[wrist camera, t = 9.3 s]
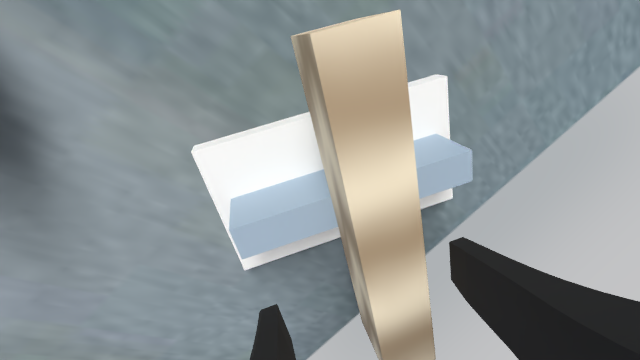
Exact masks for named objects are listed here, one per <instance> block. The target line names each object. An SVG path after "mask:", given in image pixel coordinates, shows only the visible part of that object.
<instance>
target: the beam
mask: <svg viewBox="0 0 640 360" xmlns="http://www.w3.org/2000/svg"><path fill="white" fill-rule="evenodd" d="M291 40H292V44H293V48H294V52H295V56H296V60H297V64H298V68H299V72H300V76H301V80H302V84H303V88H304V92H305V96H306V100H307V104H308V108H309V112H310V116H311V120H312V124H313V128H314V132H315V136H316V140H317V144H318V148H319V152H320V156H321V160H322V164H323V168H324V172H325V176H326V180H327V184H328V188H329V192H330V196H331V200H332V204H333V208H334V212H335V216H336V220H337V224H338V227H339V231H340V235H341V239H342V243H343V247H344V251H345V255H346V259H347V263H348V267H349V271H350V275H351V279H352V283H353V287H354V291H355V295H356V299H357V303H358V307H359V311H360V315H361V319H362V323H363V325H364V327H365V329H366V332H367V334H368V336H369V339H370V341H371V343H372V345H373V347H374V350H375V352H376V354H377V357H378V358H379V360H435V359H436V358H435V347H434V338H433V328H432V318H431V308H430V298H429V288H428V278H427V268H426V259H425V249H424V239H423V229H422V219H421V209H420V199H419V190H418V180H417V170H416V160H415V150H414V140H413V130H412V121H411V111H410V101H409V91H408V81H407V71H406V61H405V52H404V42H403V32H402V22H401V12H400V10H396V11H392V12H387V13H382V14H377V15H372V16H367V17H363V18H358V19H354V20H350V21H346V22H343V23H339V24H335V25H331V26H327V27H324V28H320V29H316V30H312V31H308V32H305V33H301V34H297V35H293V36H291Z"/></svg>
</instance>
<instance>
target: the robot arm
mask: <svg viewBox="0 0 640 360" xmlns="http://www.w3.org/2000/svg"><path fill="white" fill-rule="evenodd" d="M449 245H450V266H451V280H452V281H453V283H454V284H455V286H456V287H457V288H458V290H459V291H460V293H461V294H462V295H463V297H464V298H465V300H466V301H467V302H468V303H469V304H470V306H471V307H472V308H473V309H474V310H475V311H476V312H477V313H478V315H479V316H480V317H481V318H482V319H483V320H484V321H485V322H486V323H487V324H488V326H489V327H490V328H491V329H492V330H493V331H494V332H495V333H496V334H497V335H498V336H499V338H500V339H501V340H502V341H503V342H504V343H505V344H506V345H507V346H508V348H509V349H510V350H511V351H512V352H513V353H514V354H515V356H516V357H517V358H518V359H519V360H640V302H638V301H634V300H630V299H626V298H623V297H619V296H615V295H611V294H608V293H604V292H601V291H597V290H594V289H590V288H587V287H584V286H581V285H578V284H575V283H572V282H569V281H566V280H563V279H560V278H557V277H555V276H552V275H549V274H547V273H544V272H541V271H539V270H536V269H534V268H531V267H529V266H527V265H524V264H522V263H519V262H517V261H515V260H512V259H510V258H508V257H506V256H503V255H501V254H499V253H497V252H495V251H492V250H490V249H488V248H486V247H484V246H482V245H479V244H477V243H475V242H473V241H471V240H468V239H466V238H464V237H462V238H459V239H457V240H454V241H451V242H450V243H449ZM250 360H296V358H295V353H294V349H293V344H292V340H291V337H290V335H289V332H288V330H287V327H286V325H285V322H284V320H283V318H282V315H281V313H280V310H279V308H278V305H277V304H276V305H273V306H270V307H268V308H265V309H262V310H261V311H260V313H259V320H258V326H257V331H256V336H255V340H254V345H253V349H252V353H251V357H250Z"/></svg>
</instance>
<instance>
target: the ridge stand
mask: <svg viewBox="0 0 640 360" xmlns="http://www.w3.org/2000/svg"><path fill="white" fill-rule="evenodd" d="M408 91H409V101H410V111H411V121H412V130H413V140H414V150H415V160H416V170H417V180H418V190H419V199H420V209H423V208H426V207H429V206H432V205H435V204H438V203H440V202H443V201H446V200H449V199H452V198H453V195H452V188H453V187H456V186H459V185H462V184H465V183H467V182H470V181H473V179H472V150H471V149H469V148H467V147H464V146H462V145H460V144H458V143H456V142H454V141H451V140H450V128H449V106H448V84H447V76H443V75H437V74H436V75H433V76H429V77H426V78H422V79H419V80H416V81H412V82H409V83H408ZM191 153H192V155H193V157H194V159H195V162H196V164H197V166H198V168H199V170H200V173H201V175H202V177H203V179H204V181H205V184H206V186H207V188H208V190H209V193H210V195H211V197H212V199H213V201H214V204H215V206H216V208H217V210H218V212H219V215H220V217H221V219H222V221H223V223H224V226H225V228H226V230H227V232H228V235H229V237H230V239H231V241H232V243H233V246H234V248H235V250H236V252H237V254H238V257H239V259H240V261H241V263H242V266H243V268H244V270H247V269H250V268H253V267H256V266H259V265H262V264H264V263H267V262H270V261H273V260H276V259H279V258H282V257H285V256H288V255H290V254H293V253H296V252H299V251H302V250H305V249H308V248H311V247H313V246H316V245H319V244H322V243H325V242H328V241H331V240H334V239H337V238H339V237H341V235H340V231H339V227H338V224H337V220H336V216H335V212H334V208H333V204H332V200H331V196H330V192H329V188H328V184H327V180H326V176H325V172H324V168H323V164H322V160H321V156H320V152H319V148H318V144H317V140H316V136H315V132H314V128H313V124H312V120H311V116H310V112H307V113H304V114H300V115H297V116H293V117H290V118H287V119H283V120H280V121H276V122H273V123H270V124H266V125H263V126H259V127H256V128H253V129H249V130H246V131H242V132H239V133H236V134H232V135H229V136H226V137H222V138H219V139H215V140H212V141H209V142H205V143H202V144H198V145H195V146H194V147H193V149H192V151H191Z"/></svg>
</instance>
